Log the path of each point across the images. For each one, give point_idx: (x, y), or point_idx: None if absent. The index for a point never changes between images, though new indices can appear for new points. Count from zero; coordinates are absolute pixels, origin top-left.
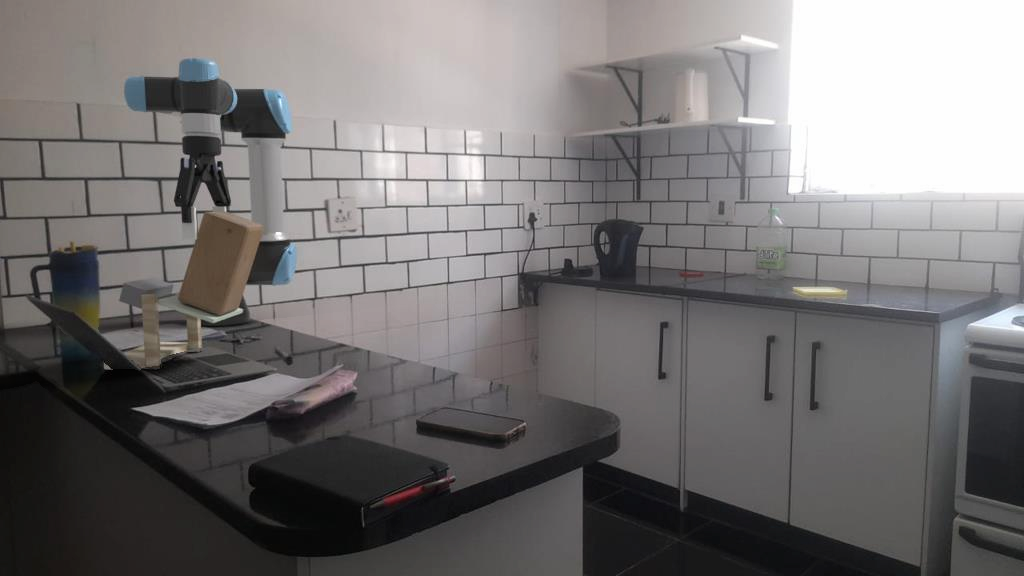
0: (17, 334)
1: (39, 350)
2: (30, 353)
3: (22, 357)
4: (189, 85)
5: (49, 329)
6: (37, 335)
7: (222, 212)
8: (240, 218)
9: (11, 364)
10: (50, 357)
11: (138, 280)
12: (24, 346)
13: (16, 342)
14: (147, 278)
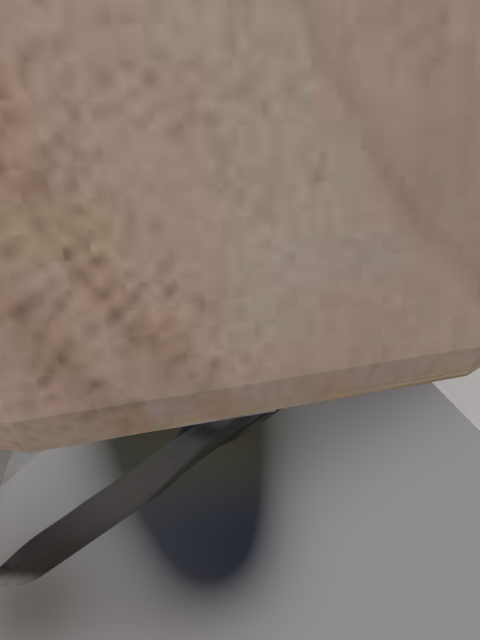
0: (71, 546)
1: (159, 465)
2: (179, 460)
3: (204, 451)
4: None
5: (21, 548)
6: (67, 529)
7: (190, 364)
8: (99, 92)
9: (243, 434)
10: (198, 427)
11: (213, 420)
12: (140, 493)
13: (120, 514)
14: (168, 428)
